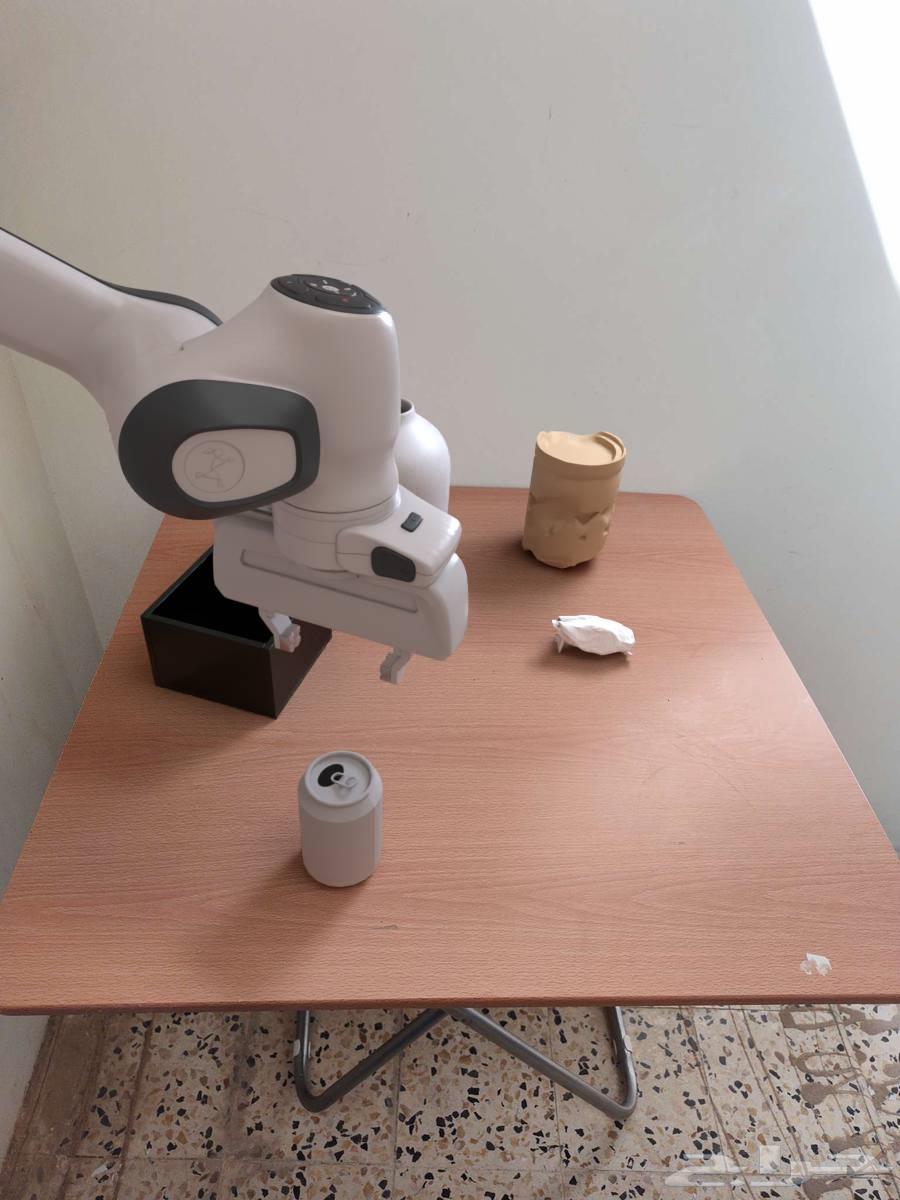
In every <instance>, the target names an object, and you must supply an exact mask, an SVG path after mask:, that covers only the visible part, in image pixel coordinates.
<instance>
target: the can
mask: <svg viewBox="0 0 900 1200" xmlns="http://www.w3.org/2000/svg"><path fill="white" fill-rule="evenodd" d="M380 775H381V774H380V773H379V772H378V771H377V769H376V768H375V767H374V766H373V763H371V761H370V760H369V759H368V758H366V757H365V756H363V755H362V754H360V753H358V752H355V751H352V750H344V749H343V750H341V749H340V750H333V751H328V752H326V753H323V754H321V755H319V756H317V757H316V758H315V759H313V760H312V761H311V762H310V764H309V765H308V766H307V767H306V769H305V771H304V773H303V774H302V775H301V777H300V778H299V781H298V785H297V788H296V791H297V792H296V793H297V802H298V815H299V826H300V828H299V829H300V840H301V850H302V851H301V852H302V853H301V854H302V860H303V865H304V867H305V869H306V871H307V872H308V875H310V876H311V877H312V878H313V879H315V880H316V882H319V883H321V884H323V885H326V886H329V887H338V888H343V887H344V888H345V887H349V886H350V887H351V886H355V885H356V884H359V883H361V882H363V881H365V880H366V879H367V878H369V877H370V876H371V875H372V874H373V873H374V872H375V871H376V869H377V867H378V866H379V864H380V862H381V857H382V849H383V800H384V799H383V796H384V795H383V793H384V786H383V781H382V777H381V776H380Z"/></svg>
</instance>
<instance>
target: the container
mask: <svg viewBox="0 0 900 1200" xmlns="http://www.w3.org/2000/svg"><path fill="white" fill-rule="evenodd" d="M626 458H627V448H626V446H625V443H624V442H623V441H622V439H620V437H619V436H617V435H615V434H613V433H611V432H609V431H605V430H604V431H603V430H602V431H601V430H600V431H597V432H594V433H591V434H582V435H580V434H576V433H572V432H568V431H560V430H559V431H556V430H549V431H548V432H546V431H545V430H542V431H540V432H539V433H538V434H537V436H536V440H535V448H534V456H533V462H532V470H531V474H530V475H531V476H530V483H529V491H528V496H527V497H528V498H527V502H526V503H527V505H526V512H525V519H524V526H523V535H522V539H521V546H522V549H523V550H524V551H531V552H532V554H533V556H534V557H535V558H536V560H537V561H539V562H542V563H544V564H546V565H548V566H552V567H555V568H559V569H567V568H569V567H576V565H577V564H580V563H583V562H587V561H590V560H591V559H593V558H594V557H596V556H597V555H598V554H599V553H600V552H601V551H602V550H603V549H604V547H605V545H606V541H607V540H608V536H609V533H610V529H611V525H612V521H613V516H614V513H615V509H616V503H617V501H616V500H617V498H618V495H619V494H618V493H619V489H620V485H621V480H622V477H623V476H622V475H623V471H622V469H623V468H624V466H625V462H626Z"/></svg>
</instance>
